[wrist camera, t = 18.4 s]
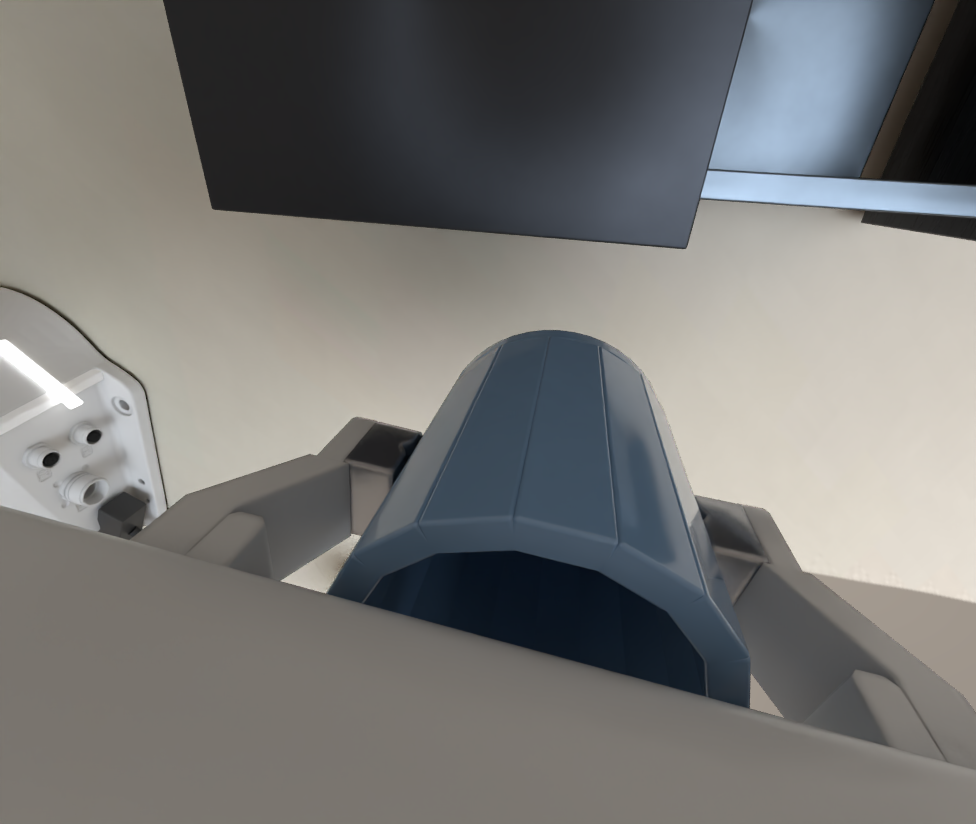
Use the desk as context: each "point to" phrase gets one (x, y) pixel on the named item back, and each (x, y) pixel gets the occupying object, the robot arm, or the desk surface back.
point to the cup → (556, 522)
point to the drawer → (850, 114)
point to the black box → (462, 110)
